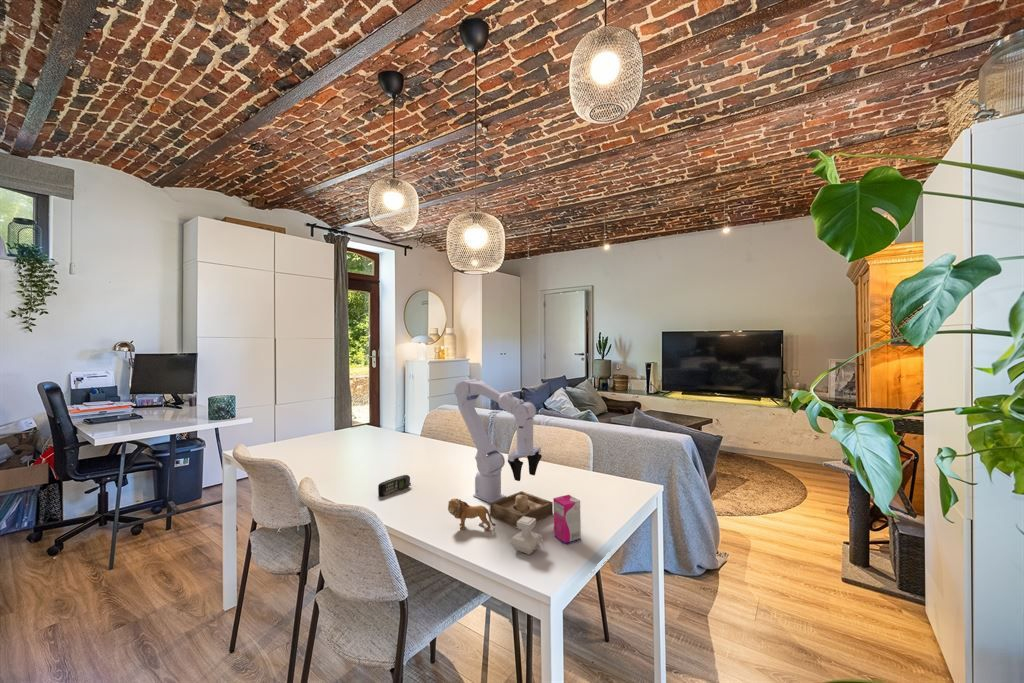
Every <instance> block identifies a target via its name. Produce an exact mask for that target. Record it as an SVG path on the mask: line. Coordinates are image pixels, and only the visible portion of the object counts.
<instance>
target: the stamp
mask: <svg viewBox="0 0 1024 683" xmlns="http://www.w3.org/2000/svg"><path fill="white" fill-rule="evenodd" d="M536 524H537V522H536V519H534V518H530V517H525V516H523V517H522V518H521V519H519V520H518V521H517V526H518V528H517V529H519V530H521V529H522V530H521V531H519V532H518V533H516V534H515V535H513V536H512V538H511V539H510V541H509V543H510V545H511V547H513V549H514V550H515V551H517V552H521V553H525V554H527V555H531V554H532V553H533V552H534V551H535V550H536V549H541V548H542V544H541V542H542V541H543V536H542V534H540V533H536V532H533V531H532V529H533V528H535V527H536Z"/></svg>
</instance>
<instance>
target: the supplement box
mask: <svg viewBox="0 0 1024 683" xmlns="http://www.w3.org/2000/svg"><path fill="white" fill-rule="evenodd" d="M552 499H553V536H554V538H556V540H558V541H560V542H561V543H562V544H564V545H568V544H572V543H577V542H579V541H581V540H582V530H581V528H582V526H581V524H582V523H581V521H582V519H581V500H580V499H578V498H576V497H574V496H573V495H571V494H565V495H561V496H557V497H553V498H552Z"/></svg>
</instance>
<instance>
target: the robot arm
mask: <svg viewBox="0 0 1024 683" xmlns="http://www.w3.org/2000/svg"><path fill="white" fill-rule="evenodd" d="M453 393H454V395H455V397H456V399H457V407H458V410H459V413H460V414H461V417H462V419H463V421H464V423H465V425H466V427H467V430H468V433H469V435H470V438H471V439H472V442H473V444H474V445H475V449H476V450H477V452H476V454H475V456H474V459H475V462H476V469H477V471H478V472H477V473H476V474H475V478H474V494H473V495H472V496H473V497H475V498H478V499H479V500H481V501H484V502H487V503H489V504H490V503H492V502H495V501H498V500H500V499H503V498H505V497H507V495H505V494H503V493H502V469H503V467H504V466H505V465H506V464H505V463H506V460H505V456H504V455H503V453H501V452H500V450H499V448H498V447H497V446H495V445H494V444H492V443H491V441H490V439H489V436H488V434H487V432H486V429H485V428H484V425H483V423H482V421H481V419H480V417H479V414H478V412H477V410H476V408H475V404H476V401H477V400H478V398H479V396H483V397H486V398H487V399H488V400H489V399H490V400H492V401H494V402H496V403H497V404H498V407H499V408H500V409H502V410H504V411H506V412H508V413H509V414H511V415H513V418H514V419H515V424H516V450H515V451H513V452H511V453H509V454H508V455H507V462H508V465H509V466H510V469H511V471H512V474H513V475H512V476H513V478H514V481H518V482H520V481H521V477H522V467H523V464H524V461H522V460H520V459H522V458H526V457H527V462H528V472H529V475H530V476H534V477H535V476H536V474H537V470H538V469H537V468H538V465H539V463H540V461H541V459H542V456H543V455H542V454H541V453H542V452H541V451H542V448H541V447H540V446H534V418H535V417H536V415H537V408H536V406H535V404H533V402H531V401H526V402H525V401H524V400H523V399H522V398H521V399H519V398H517V397H516V396H514V394H513V393H511V392H508V393H507V392H504V393H501V392H500V391H498V390H496V389H495V388H493V387H492V386H490V385H488V384H487V383H485V381H484V380H480V379H479V378H477V377H476V378H472V379H464V380H459V381H457V383H456V384H455V388H454V390H453Z"/></svg>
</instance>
